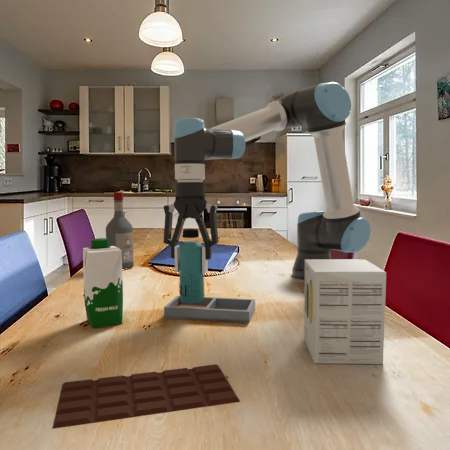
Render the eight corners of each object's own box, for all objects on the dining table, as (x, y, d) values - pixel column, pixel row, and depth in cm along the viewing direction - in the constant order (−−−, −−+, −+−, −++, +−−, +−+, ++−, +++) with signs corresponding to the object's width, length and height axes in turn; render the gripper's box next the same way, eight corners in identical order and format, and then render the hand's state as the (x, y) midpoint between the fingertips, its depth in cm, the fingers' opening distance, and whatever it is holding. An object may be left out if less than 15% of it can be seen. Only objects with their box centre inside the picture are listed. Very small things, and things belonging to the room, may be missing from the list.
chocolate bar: (52, 431, 60) (52, 424, 59) (62, 387, 73) (62, 381, 72) (239, 404, 67) (239, 397, 67) (218, 368, 80) (218, 362, 80)
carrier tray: (255, 309, 114) (255, 299, 114) (249, 323, 103) (249, 311, 103) (177, 305, 119) (177, 295, 118) (164, 318, 108) (163, 307, 107)
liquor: (137, 267, 173) (135, 192, 170) (120, 271, 165) (117, 192, 162) (120, 265, 178) (118, 191, 175) (103, 268, 170) (101, 192, 167)
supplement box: (302, 338, 93) (303, 258, 92) (364, 339, 93) (366, 258, 91) (313, 364, 80) (314, 271, 78) (384, 365, 80) (388, 271, 78)
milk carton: (118, 314, 111) (115, 237, 109) (127, 324, 103) (124, 241, 101) (82, 319, 107) (79, 239, 105) (89, 330, 99) (86, 244, 97)
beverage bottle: (208, 303, 114) (207, 227, 112) (198, 310, 108) (197, 230, 106) (185, 301, 116) (184, 227, 114) (174, 307, 110) (173, 229, 108)
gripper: (148, 181, 107) (150, 273, 109) (225, 181, 103) (225, 276, 105) (158, 181, 114) (160, 267, 117) (230, 181, 110) (231, 269, 113)
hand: (191, 271), depth 111 cm, fingers closed on beverage bottle, 6 cm apart
